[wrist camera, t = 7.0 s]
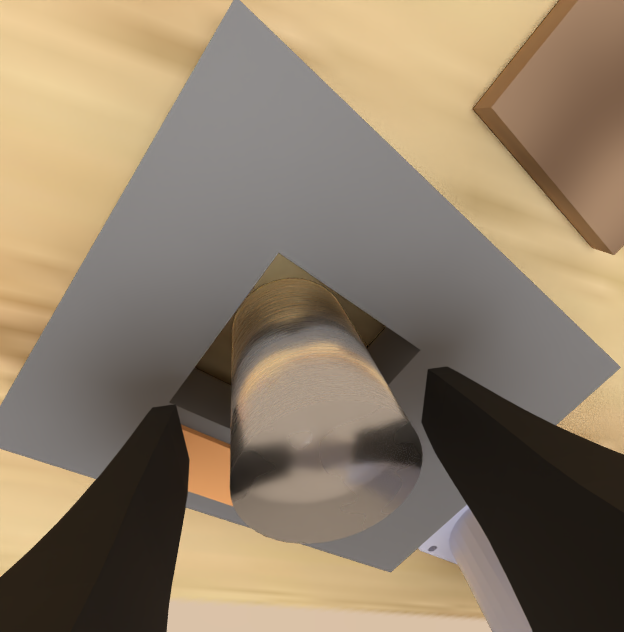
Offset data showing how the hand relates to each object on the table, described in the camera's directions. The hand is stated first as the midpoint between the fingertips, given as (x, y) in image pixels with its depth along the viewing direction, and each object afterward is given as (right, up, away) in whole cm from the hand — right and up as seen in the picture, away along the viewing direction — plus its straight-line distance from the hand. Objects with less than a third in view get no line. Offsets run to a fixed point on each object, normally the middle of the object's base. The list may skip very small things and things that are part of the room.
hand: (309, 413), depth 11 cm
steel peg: (-1, +2, +4) cm, 4 cm away
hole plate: (+1, +1, +5) cm, 5 cm away
